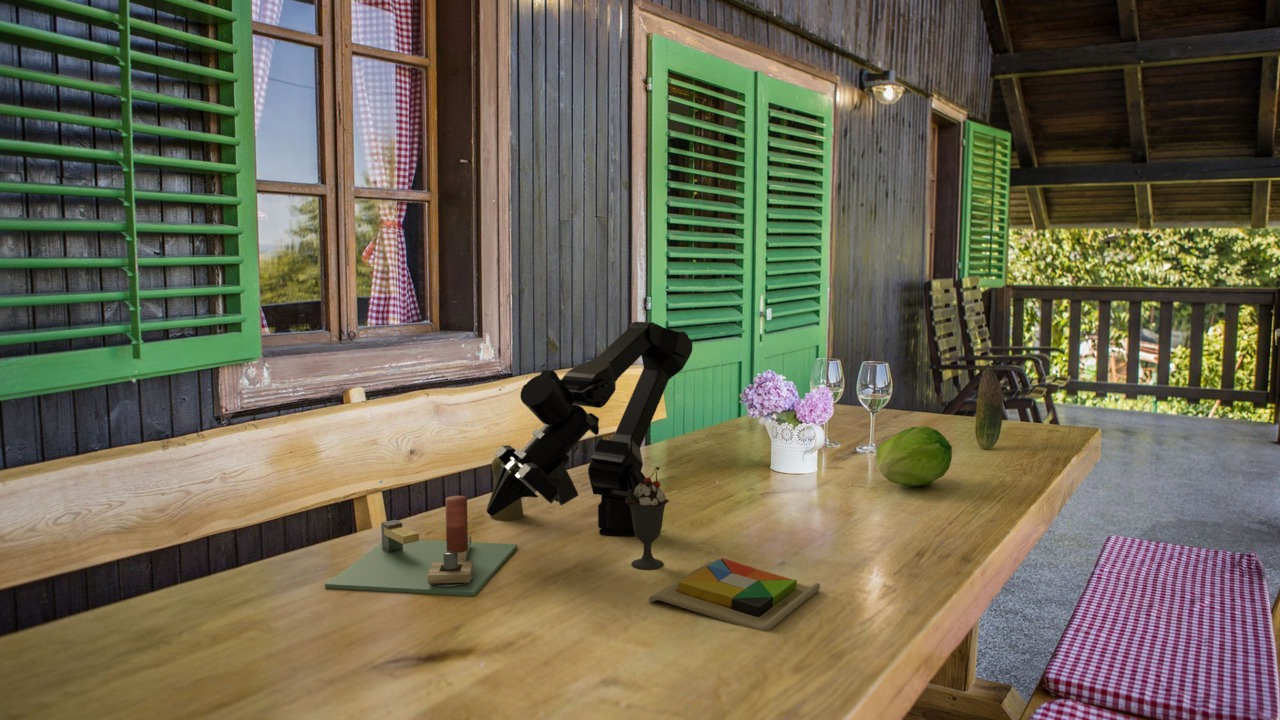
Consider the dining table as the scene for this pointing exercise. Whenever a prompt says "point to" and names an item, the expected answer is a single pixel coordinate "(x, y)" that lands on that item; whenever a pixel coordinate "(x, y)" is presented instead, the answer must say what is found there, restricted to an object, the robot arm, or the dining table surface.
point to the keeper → (396, 536)
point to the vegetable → (988, 410)
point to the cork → (513, 509)
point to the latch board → (419, 568)
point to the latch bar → (455, 544)
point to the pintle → (451, 569)
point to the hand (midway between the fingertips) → (488, 513)
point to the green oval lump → (914, 457)
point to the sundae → (647, 518)
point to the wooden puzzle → (737, 594)
